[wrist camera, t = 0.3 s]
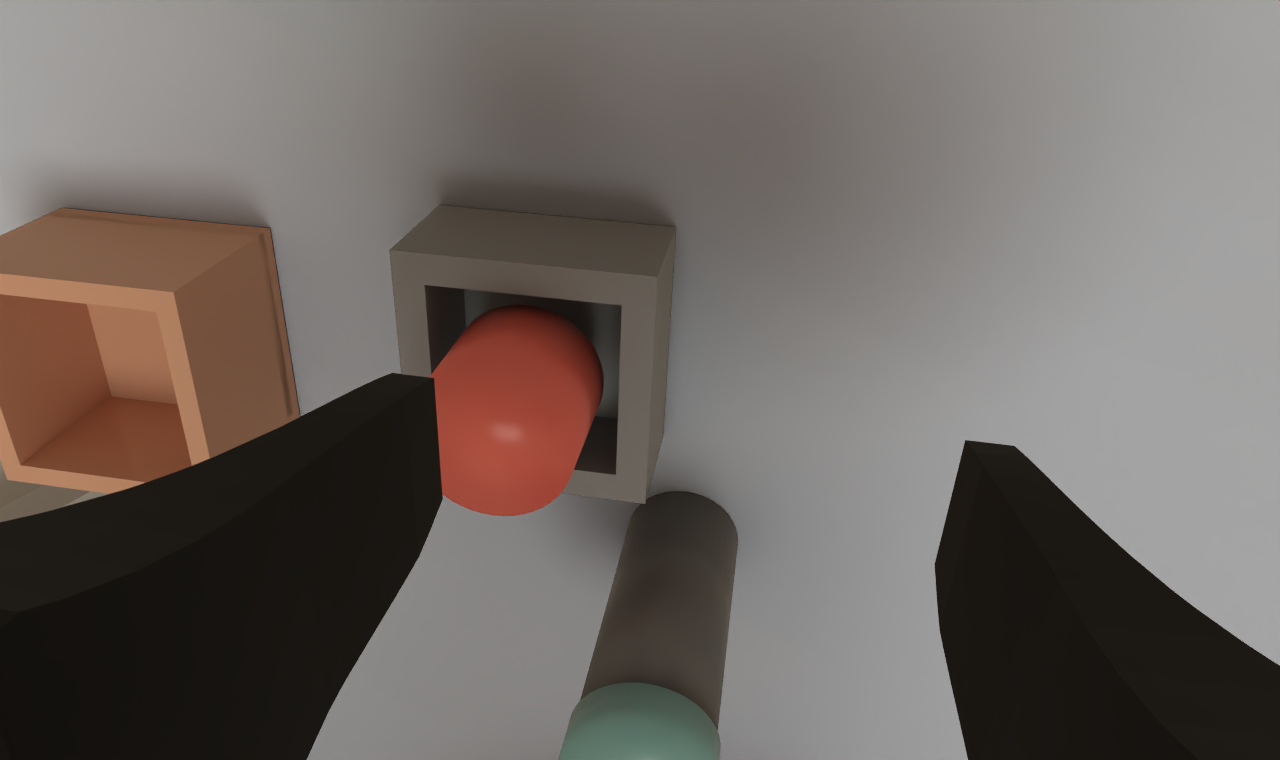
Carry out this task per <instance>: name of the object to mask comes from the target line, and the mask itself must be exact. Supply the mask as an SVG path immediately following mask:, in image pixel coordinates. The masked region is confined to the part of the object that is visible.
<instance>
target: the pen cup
mask: <svg viewBox="0 0 1280 760" xmlns="http://www.w3.org/2000/svg"><path fill="white" fill-rule="evenodd" d="M299 417H300V414H299V408H298V402H297V395H296V389H295V383H294V377H293V370H292V364H291V358H290V351H289V345H288V339H287V333H286V326H285V320H284V314H283V308H282V301H281V295H280V289H279V283H278V276H277V270H276V264H275V257H274V251H273V245H272V239H271V232H270V228H260V227H250V226H240V225H230V224H220V223H210V222H199V221H189V220H179V219H169V218H159V217H148V216H138V215H128V214H118V213H108V212H98V211H87V210H77V209H67V208H61V209H58V210H56V211H54V212H52V213H49V214H47V215H45V216H43V217H41V218H38V219H36V220H34V221H32V222H29V223H27V224H25V225H23V226H21V227H18V228H16V229H14V230H12V231H9V232H7V233H5V234H3V235H1V236H0V460H1V463H2V466H3V469H4V471H5V474H6V477H7V480H12V481H20V482H27V483H34V484H41V485H49V486H56V487H63V488H71V489H78V490H85V491H92V492H100V493H107V494H111V493H114V492H118V491H121V490H125V489H128V488H131V487H134V486H137V485H140V484H143V483H146V482H148V481H151V480H154V479H157V478H160V477H163V476H166V475H168V474H171V473H174V472H177V471H179V470H182V469H185V468H187V467H190V466H192V465H195V464H198V463H200V462H203V461H205V460H207V459H210V458H212V457H215V456H217V455H219V454H221V453H224V452H226V451H228V450H230V449H232V448H235V447H237V446H239V445H241V444H244V443H246V442H248V441H250V440H252V439H255V438H257V437H259V436H261V435H264V434H266V433H268V432H270V431H272V430H275V429H277V428H279V427H281V426H283V425H285V424H287V423H289V422H291V421H293V420H295V419H297V418H299Z"/></svg>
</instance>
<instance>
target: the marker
mask: <svg viewBox="0 0 1280 760" xmlns="http://www.w3.org/2000/svg"><path fill="white" fill-rule="evenodd" d="M737 546H738V536H737V531H736V528H735V525H734V523H733V521H732V520H731V518H730V516H729V515H728V514H727V513H726V512H725V511H724V510H723V509H722V508H721V507H720V506H719V505H717V504H716V503H714V502H713V501H711V500H709V499H707V498H705V497H703V496H700V495H696V494H693V493H687V492H668V493H663V494H659V495H656V496H654V497H651V498H650V499H648V500H646V503H645V504H641V505H640V506H639V507H638V508H637V509H636V511H635V512H634V513H633V515H632V517H631V520H630V523H629V527H628V530H627V534H626V537H625V541H624V545H623V548H622V552H621V555H620V559H619V563H618V566H617V570H616V573H615V577H614V581H613V584H612V588H611V591H610V595H609V599H608V602H607V606H606V610H605V613H604V617H603V620H602V624H601V628H600V631H599V635H598V638H597V642H596V646H595V649H594V653H593V656H592V660H591V664H590V667H589V671H588V674H587V678H586V682H585V685H584V689H583V692H582V696H581V700H580V701H579V703H578V704H577V705H576V707H575V708H574V710H573V712H572V715H571V718H570V721H569V725H568V729H567V732H566V736H565V739H564V743H563V746H562V750H561V753H560V757H559V760H719V758H720V738H719V734H718V722H719V713H720V703H721V694H722V685H723V676H724V666H725V657H726V648H727V639H728V629H729V620H730V611H731V602H732V592H733V583H734V574H735V565H736V555H737Z"/></svg>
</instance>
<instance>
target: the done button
mask: <svg viewBox="0 0 1280 760" xmlns="http://www.w3.org/2000/svg"><path fill="white" fill-rule="evenodd" d="M430 378H434V384H435V398H436V412H437V426H438V440H439V454H440V468H441V483H442V494H443V495H444V496H446V497H447V498H449V499H450V500H452V501H453V502H455V503H457V504H459V505H461V506H463V507H466V508H468V509H470V510H473V511H477V512H480V513H484V514H490V515H498V516H514V515H521V514H526V513H529V512H533V511H535V510H538V509H540V508H542V507H544V506H546V505H547V504H549V503H551V502H552V501H553V500H554V499H555V498H557V497H558V496H559V494H560V493H561V492H562V491H563V490H564V488H565V487H566V485H567V484H568V482H569V480H570V477H571V475H572V473H573V470H574V468H575V465H576V463H577V460H578V457H579V455H580V452H581V450H582V447H583V445H584V442H585V440H586V437H587V435H588V432H589V430H590V427H591V425H592V422H593V420H594V417H595V415H596V412H597V409H598V407H599V404H600V402H601V399H602V395H603V389H604V374H603V369H602V365H601V362H600V359H599V356H598V354H597V352H596V350H595V348H594V346H593V345H592V343H591V342H590V340H589V339H588V338H587V337H586V336H585V334H584V333H583V332H582V331H581V330H580V329H579V328H578V327H577V326H575V325H574V324H573V323H571V322H570V321H569V320H567V319H566V318H564V317H562V316H561V315H559V314H557V313H555V312H552V311H550V310H548V309H544V308H541V307H537V306H531V305H519V304H516V305H506V306H501V307H497V308H494V309H492V310H489V311H487V312H485V313H483V314H481V315H480V316H479V317H477V318H476V319H475V320H473V321H472V322H471V323H470V324H469V325H468V326H467V328H466V329H465V330H464V332H463V333H462V334H461V336H460V337H459V338H458V340H457V341H456V342H455V344H454V345H453V346H452V348H451V349H450V350H449V352H448V353H447V354H446V356H445V357H444V358H443V360H442V361H441V362H440V364H439V365H438V366H437V368H436V369H435V370H434V372H433V373H432V374H431V376H430Z"/></svg>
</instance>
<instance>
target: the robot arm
mask: <svg viewBox="0 0 1280 760" xmlns="http://www.w3.org/2000/svg"><path fill="white" fill-rule="evenodd" d="M442 499H443V497H442V483H441V468H440V454H439V440H438V426H437V412H436V398H435V384H434V378H430V377H422V376H413V375H405V374H396V373H391V374H389V375H386V376H383V377H381V378H378V379H376V380H374V381H372V382H370V383H367V384H365V385H363V386H361V387H359V388H357V389H355V390H353V391H351V392H349V393H347V394H345V395H343V396H341V397H339V398H337V399H335V400H333V401H331V402H329V403H327V404H325V405H323V406H321V407H319V408H317V409H315V410H313V411H311V412H309V413H307V414H305V415H303V416H301V417H299V418H297V419H295V420H293V421H291V422H289V423H287V424H285V425H283V426H281V427H279V428H277V429H275V430H272V431H270V432H268V433H266V434H264V435H261V436H259V437H257V438H255V439H252V440H250V441H248V442H246V443H244V444H241V445H239V446H237V447H235V448H232V449H230V450H228V451H226V452H224V453H221V454H219V455H217V456H215V457H212V458H210V459H207V460H205V461H203V462H200V463H198V464H195V465H192V466H190V467H187V468H185V469H182V470H179V471H177V472H174V473H171V474H168V475H166V476H163V477H160V478H157V479H154V480H151V481H148V482H146V483H143V484H140V485H137V486H134V487H131V488H128V489H125V490H121V491H118V492H114V493H111V494H107V495H104V496H100V497H97V498H93V499H90V500H86V501H82V502H79V503H75V504H72V505H68V506H65V507H61V508H58V509H54V510H51V511H47V512H43V513H39V514H34V515H30V516H26V517H21V518H17V519H12V520H8V521H4V522H0V760H306V759H307V757H308V755H309V753H310V751H311V749H312V746H313V744H314V742H315V740H316V738H317V735H318V733H319V731H320V729H321V727H322V725H323V722H324V720H325V718H326V716H327V714H328V712H329V710H330V708H331V706H332V704H333V702H334V700H335V698H336V697H337V695H338V693H339V691H340V689H341V687H342V685H343V684H344V682H345V680H346V678H347V677H348V675H349V673H350V672H351V670H352V668H353V667H354V665H355V663H356V662H357V660H358V658H359V657H360V655H361V653H362V652H363V650H364V648H365V647H366V645H367V643H368V642H369V640H370V638H371V637H372V635H373V633H374V632H375V630H376V628H377V627H378V625H379V623H380V622H381V620H382V618H383V617H384V615H385V614H386V612H387V610H388V609H389V607H390V605H391V604H392V602H393V600H394V599H395V597H396V595H397V593H398V592H399V590H400V588H401V587H402V585H403V583H404V582H405V580H406V578H407V576H408V575H409V573H410V571H411V570H412V568H413V566H414V564H415V563H416V561H417V559H418V557H419V555H420V553H421V551H422V548H423V546H424V544H425V541H426V539H427V537H428V534H429V532H430V530H431V527H432V524H433V522H434V519H435V517H436V514H437V512H438V509H439V507H440V504H441V502H442ZM935 574H936V590H937V604H938V615H939V627H940V634H941V638H942V643H943V648H944V653H945V657H946V662H947V667H948V671H949V676H950V680H951V685H952V689H953V694H954V698H955V703H956V707H957V712H958V716H959V721H960V725H961V729H962V734H963V738H964V743H965V747H966V752H967V756H968V760H1280V666H1279V665H1278V664H1276V663H1274V662H1273V661H1271V660H1270V659H1268V658H1267V657H1265V656H1264V655H1262V654H1261V653H1259V652H1257V651H1256V650H1254V649H1253V648H1251V647H1250V646H1248V645H1247V644H1245V643H1244V642H1242V641H1241V640H1239V639H1238V638H1237V637H1235V636H1234V635H1232V634H1231V633H1230V632H1228V631H1227V630H1225V629H1224V628H1223V627H1221V626H1220V625H1218V624H1217V623H1216V622H1214V621H1213V620H1211V619H1210V618H1209V617H1207V616H1206V615H1204V614H1203V613H1202V612H1200V611H1199V610H1197V609H1196V608H1195V607H1193V606H1192V605H1191V604H1189V603H1188V602H1187V601H1185V600H1184V599H1183V598H1182V597H1180V596H1179V595H1178V594H1176V593H1175V592H1174V591H1173V590H1171V589H1170V588H1169V587H1168V586H1166V585H1165V584H1164V583H1163V582H1162V581H1160V580H1159V579H1158V578H1157V577H1156V576H1154V575H1153V574H1152V573H1151V572H1150V571H1148V570H1147V569H1146V568H1145V567H1144V566H1142V565H1141V564H1140V563H1139V562H1138V561H1136V560H1135V559H1134V558H1133V557H1132V556H1131V555H1129V554H1128V553H1127V552H1126V551H1125V550H1124V549H1123V548H1121V547H1120V546H1119V545H1118V544H1117V543H1116V542H1115V541H1114V540H1113V539H1111V538H1110V537H1109V536H1108V535H1107V534H1106V533H1105V532H1104V531H1103V530H1102V529H1101V528H1099V527H1098V526H1097V525H1096V524H1095V523H1094V522H1093V521H1092V520H1091V519H1090V518H1089V517H1088V516H1087V515H1086V514H1085V513H1084V512H1083V511H1082V510H1080V509H1079V508H1078V507H1077V506H1076V505H1075V504H1074V503H1073V502H1072V501H1071V500H1070V499H1069V498H1068V497H1067V496H1066V495H1065V494H1064V493H1063V492H1062V491H1061V490H1060V489H1059V488H1058V487H1057V486H1056V485H1055V484H1054V483H1053V482H1052V481H1051V480H1050V479H1049V478H1048V477H1047V476H1046V475H1045V474H1044V473H1043V472H1042V471H1041V470H1040V469H1039V468H1038V467H1037V466H1036V465H1035V464H1033V463H1032V462H1031V461H1030V460H1029V459H1028V458H1027V457H1026V456H1025V455H1024V454H1023V453H1022V452H1021V451H1019V450H1018V449H1017V448H1016V447H1015V446H1010V445H1001V444H993V443H984V442H976V441H967V440H965V444H964V448H963V452H962V456H961V460H960V464H959V468H958V472H957V476H956V481H955V485H954V489H953V493H952V497H951V501H950V505H949V509H948V513H947V517H946V521H945V525H944V529H943V533H942V537H941V541H940V545H939V549H938V553H937V557H936V562H935Z"/></svg>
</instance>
